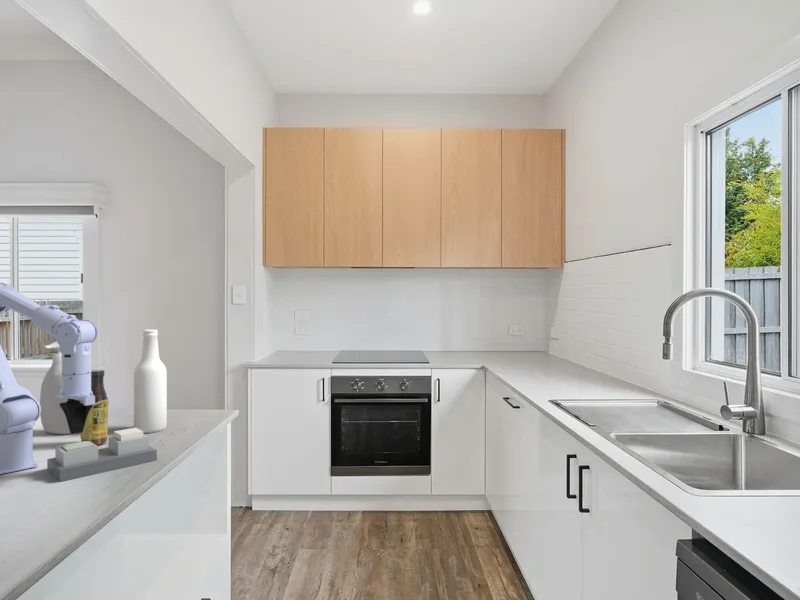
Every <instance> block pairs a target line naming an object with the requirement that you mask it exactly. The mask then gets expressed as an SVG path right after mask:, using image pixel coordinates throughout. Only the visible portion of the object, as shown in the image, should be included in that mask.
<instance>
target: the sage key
mask: <svg viewBox="0 0 800 600" xmlns="http://www.w3.org/2000/svg"><path fill="white" fill-rule="evenodd" d="M60 446H61V449H63V450H64V451H65V452H68V451H73V450H78V449H84V448H89V447H93V445H92V444H90V443H88V442H87V441H83V442H81V441H79V442H73V443H67V444H62V445H60Z"/></svg>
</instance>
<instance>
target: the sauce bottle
mask: <svg viewBox="0 0 800 600" xmlns="http://www.w3.org/2000/svg"><path fill="white" fill-rule="evenodd" d="M104 377H105V370H104V369H91V391H92V393H93V395H94V396H95V404H93V406H92V407H91V409H90V411H89V413H88V415H87V418H86V422H85V426H84V429H83V432H82V433H80V439H81V441H80V442H83V441H90V442H92V443H94V444H95V445H97V446H101V445H104V444H105V443H106V442H107V440H108V429H109V428H108V427H109V422H108V421H109V399H108V396H107V392H106V389H105V386H104V385H105V384H104Z"/></svg>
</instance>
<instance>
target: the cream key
mask: <svg viewBox="0 0 800 600" xmlns="http://www.w3.org/2000/svg"><path fill="white" fill-rule="evenodd" d="M143 434H144V433H143V431H142V430H140V429H138V428H134V427H131V428H130V427H129V428H126V429H121V430H115V431H113V436H114V438H115V439H117V440H119V441H120V442H121V441H126V440H131V439H136V438H142V437H143Z"/></svg>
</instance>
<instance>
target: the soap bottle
mask: <svg viewBox="0 0 800 600" xmlns="http://www.w3.org/2000/svg"><path fill="white" fill-rule="evenodd" d="M42 348H43V349H57V353H55V354H53V355H52V364H51V365H50V367H49V369H48V371H47V372H46V373H45V375H44V378H43V379H42V382H41V388H40V395H39V396H40V397H39V404H40V406H41V414H40V422H41V425H42V428H43V430H44V432H46V433H49V434H52V435H71V433H70V430H69V427H68V423H67V419H66V416H65V414H64V412H63V410H62V408H61V407H60V403H64V402H67V401H68V399H65V398H56V394H59V390H60V389H62V354H61V352H60V346H59V344H58V343H57V341H56V340H55V341H53V342H52V343H50V344H47V345H42Z"/></svg>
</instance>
